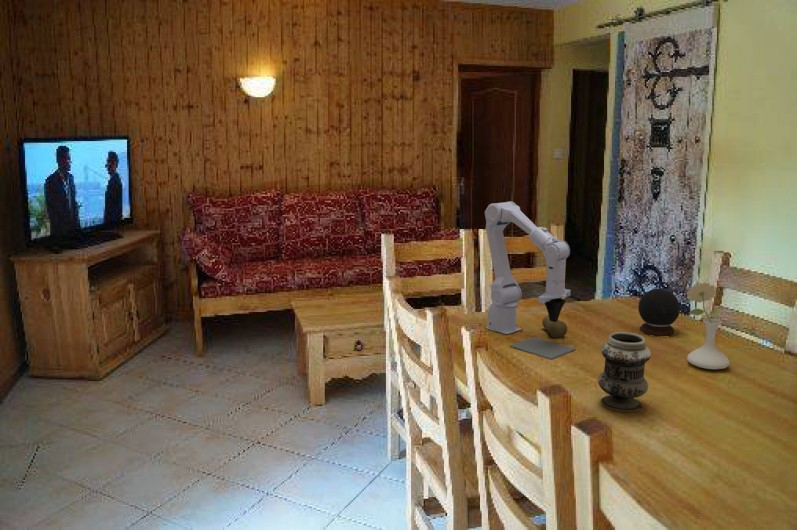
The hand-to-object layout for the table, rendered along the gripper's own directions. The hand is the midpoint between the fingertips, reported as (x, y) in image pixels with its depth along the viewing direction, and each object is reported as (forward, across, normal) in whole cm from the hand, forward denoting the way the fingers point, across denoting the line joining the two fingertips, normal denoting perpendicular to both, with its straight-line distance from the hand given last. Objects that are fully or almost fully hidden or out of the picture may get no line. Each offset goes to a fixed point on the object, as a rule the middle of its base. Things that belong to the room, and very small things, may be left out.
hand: (553, 321), depth 209 cm
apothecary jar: (+8, -25, -39) cm, 47 cm away
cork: (+5, +6, +2) cm, 8 cm away
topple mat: (+8, -5, 0) cm, 10 cm away
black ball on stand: (+8, +38, -16) cm, 42 cm away
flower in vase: (+8, +18, -41) cm, 45 cm away
